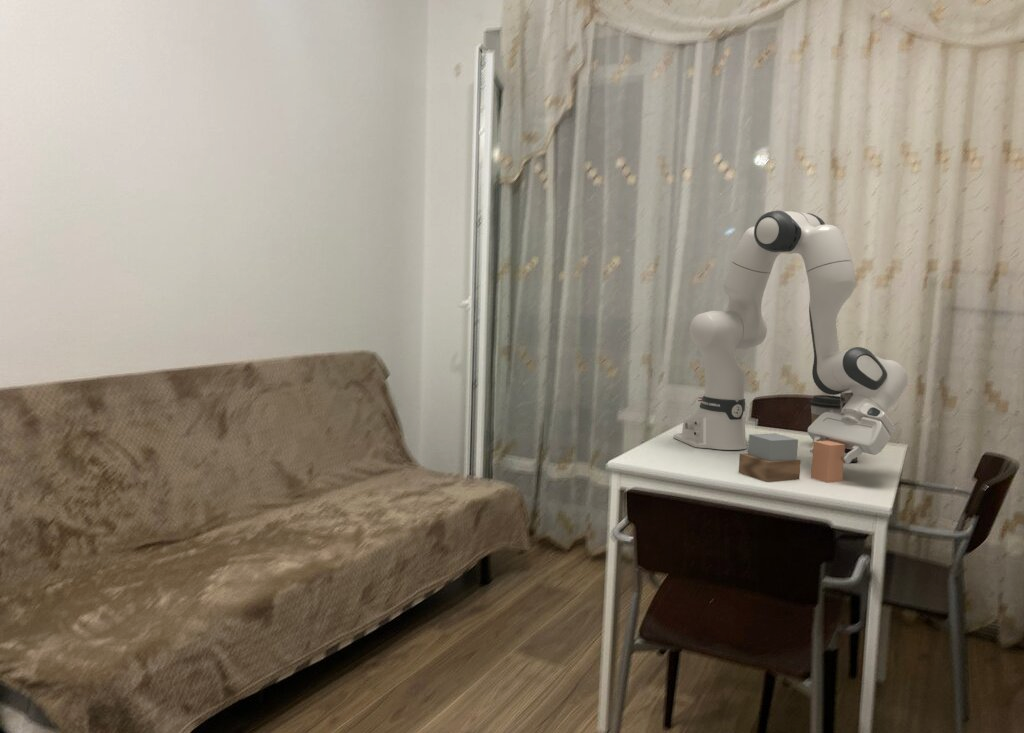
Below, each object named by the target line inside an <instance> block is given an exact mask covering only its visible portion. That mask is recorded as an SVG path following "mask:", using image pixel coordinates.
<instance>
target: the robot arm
mask: <svg viewBox="0 0 1024 733" xmlns="http://www.w3.org/2000/svg"><path fill="white" fill-rule="evenodd" d="M781 254H787V255H788V254H799V255H800V256H801V257H802V260H803V262H804V267H805V272H806V277H807V281H808V289H809V306H808V313H809V316H808V317H809V323H810V324H809V325H810V326H809V327H810V331H811V332H810V333H811V339H812V340H811V341H812V348H813V364H812V371H811V372H812V374H811V375H812V379H813V382H814V384H815V386H816V387H817V388H818V390H820V391H821V392H823V393H824V394H827V395H830V396H838V395H840V393H842V392H845V391H847V390H851V391H852V392H853V396H852V397H851V398H850V400H849V401H848V402H847V403H846V405H845V406H844V407H843V408H842V410H841V412H838V411H834V410H831V411H829V412H825V413H823V414H822V415H820V416H819V417H818V418H817V419H816V420H815V421H814V422H813V423H812V422H811V424H810V425H809V426H808V428H807V434H808V435H809V437H810V438H811V439H812V441H813V440H814V441H833V442H837V443H841V444H845V448H847V449H852V450H851V451H850V452H848V453H844V454H843V456H842V457H841V460H842V462H844V464H848V465H849V464H850V463H852V462H851V460H852V459H854V458H856V457H857V458H858V457H860V456H862V454H863V453H865V454H868V455H872V456H875V455H878V454H880V453H881V452H882V451H883V450H884V448H885V447H886V446H887V444H888V443H889V442H890V439H891V435H894V433H895V432H896V428H895V426H894V424H893V422H892V420H891V419H890V418H889V416H888V415H887V412H888V410H889V409H890V408H892V407H893V406H894V405H895V404H896V402H897V401H898V400H899V398H900V397H901V395H902V394H903V392H904V390H905V389H906V387H907V384H908V380H909V379H908V377H909V376H908V372H907V371H906V370H905V368H904V367H903V366H902V365H901V364H900V363H899V362H898V361H895V360H892V359H885V358H881V357H880V356H879V357H878V356H876V355H875V354H874V353H872V351H870V350H869V349H867V348H865V347H862V346H855V347H851V348H848V349H845V350H842V351H840V346H839V345H840V344H839V337H838V331H837V318H838V315H839V312H840V310H841V309H842V307H843V306H844V304H845V303H846V302H847V300H849V298H850V297H851V296H852V294H853V293H854V291H855V289H856V283H857V282H856V280H857V279H856V271H855V267H854V264H853V263H854V262H853V259H852V256H851V252H850V249H849V247H848V244H847V241H846V239H845V237H844V235H843V232H842V230H840V228H838V227H837V226H836V225H832V224H826V223H825V222H824V220H823V219H822V218H820V217H819V216H818V215H816V214H814V213H810V212H803V211H799V210H789V211H786V210H784V211H782V210H772V211H769V212H765V213H764V214H762V215H761V216H760V217H759V218H758V219H757V220H756V223H755V226H754V225H753V226H751V227H749V228H748V229H746V230H745V231H744V233H743V234H742V237H741V238H740V240H739V242H738V244H737V246H736V248H735V251H734V253H733V255H732V258H731V260H730V264H729V267H728V270H727V273H726V276H725V279H724V280H723V281H724V282H723V290H724V293H726V295H727V297H728V306H727V310H709V311H705V312H702V313H699V314H696V315H695V316H694V318H692V320H691V322H690V325H689V337H690V339H691V341H692V343H693V344H694V345H696V347H697V348H698V350H699V352H700V353H701V357H702V360H703V363H704V370H705V373H704V375H705V377H704V379H705V380H704V395H703V396H702V397H698V400H697V401H698V402H700V403H699V408H698V409H696V410H695V411H694V412H693V413H691V414H689V415H688V416H687V417H686V418H685V419H684V421H683V424H682V431H681V433H676V434H674V435H673V438H674V439H676V440H677V441H680V442H682V443H684V444H687V445H689V446H692V447H694V448H701V449H703V448H704V449H713V450H723V451H740V450H741V451H742V450H745V449H748V448H747V447H748V446H747V445H748V441H747V439H746V438H747V437H746V418H745V415H744V413H745V411H746V405H747V404H746V398H745V391H746V390H745V387H746V386H745V385H746V371H745V368H743V366H741V365H740V364H739V362H738V359H737V355H736V350H747V349H750V348H751V349H752V348H755V347H758V346H760V345H761V344H762V343H764V341H765V339H766V336H767V331H768V328H767V324H766V320H764V318H763V315H762V302H763V297H764V293H765V290H766V287H767V284H768V281H769V278H770V276H771V273H772V270H773V267H774V264H775V261H776V259H777V257H779V255H781ZM810 453H811V455H813V446H812V447H811V448H810Z"/></svg>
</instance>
